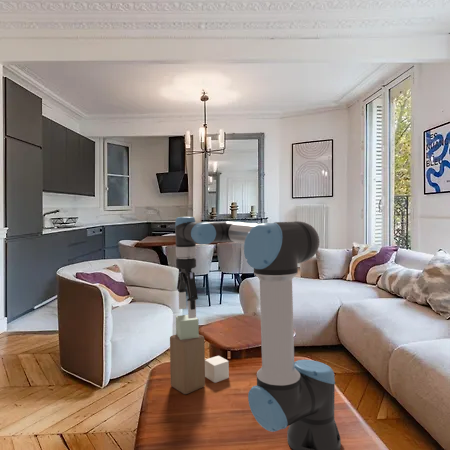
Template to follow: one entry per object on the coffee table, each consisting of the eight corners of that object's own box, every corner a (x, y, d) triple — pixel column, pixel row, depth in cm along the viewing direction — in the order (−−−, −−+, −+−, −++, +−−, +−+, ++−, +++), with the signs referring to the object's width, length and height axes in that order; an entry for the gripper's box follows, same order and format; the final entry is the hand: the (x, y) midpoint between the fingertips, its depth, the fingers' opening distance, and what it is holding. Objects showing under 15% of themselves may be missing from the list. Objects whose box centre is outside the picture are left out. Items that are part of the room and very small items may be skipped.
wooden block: (190, 378, 146) (189, 329, 145) (206, 386, 138) (205, 335, 138) (169, 386, 139) (168, 335, 138) (185, 396, 132) (184, 342, 131)
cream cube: (228, 378, 146) (228, 361, 145) (214, 383, 141) (214, 365, 141) (218, 371, 151) (218, 355, 151) (204, 376, 147) (204, 359, 147)
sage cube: (198, 337, 136) (198, 319, 136) (180, 340, 133) (180, 321, 133) (193, 331, 142) (193, 314, 142) (176, 333, 140) (175, 316, 139)
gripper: (205, 260, 126) (207, 320, 127) (186, 253, 149) (187, 304, 150) (185, 262, 123) (186, 323, 124) (168, 254, 147) (170, 306, 147)
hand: (187, 313), depth 137 cm, fingers open, 13 cm apart
